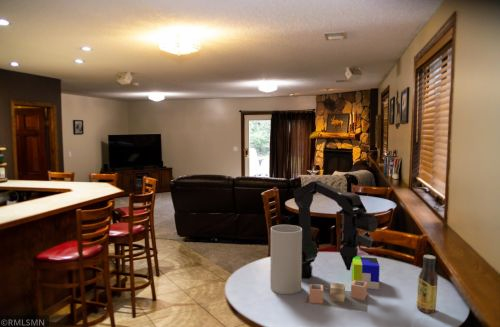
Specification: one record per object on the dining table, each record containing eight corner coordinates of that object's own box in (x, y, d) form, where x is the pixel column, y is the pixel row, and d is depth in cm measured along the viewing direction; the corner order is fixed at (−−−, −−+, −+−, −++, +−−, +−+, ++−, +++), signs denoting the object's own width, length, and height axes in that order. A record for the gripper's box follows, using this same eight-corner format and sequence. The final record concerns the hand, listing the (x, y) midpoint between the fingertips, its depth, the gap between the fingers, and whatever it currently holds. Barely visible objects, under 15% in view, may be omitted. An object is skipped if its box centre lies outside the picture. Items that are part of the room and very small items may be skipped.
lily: (370, 268, 181) (372, 248, 184) (350, 261, 177) (353, 241, 181) (353, 268, 192) (356, 249, 195) (335, 261, 188) (338, 242, 191)
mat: (305, 303, 141) (305, 302, 141) (312, 287, 156) (312, 286, 156) (366, 313, 133) (366, 311, 133) (368, 294, 148) (368, 293, 148)
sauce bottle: (413, 306, 139) (415, 253, 137) (429, 305, 139) (431, 252, 138) (422, 314, 132) (425, 259, 131) (440, 314, 133) (442, 258, 131)
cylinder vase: (303, 285, 158) (304, 226, 156) (297, 297, 146) (298, 233, 144) (275, 281, 162) (275, 223, 160) (266, 292, 150) (266, 231, 148)
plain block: (330, 300, 143) (330, 287, 142) (331, 295, 147) (332, 282, 147) (343, 302, 141) (343, 289, 141) (344, 296, 146) (345, 284, 145)
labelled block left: (309, 302, 141) (309, 288, 140) (309, 296, 146) (309, 283, 145) (322, 303, 140) (323, 289, 140) (322, 297, 145) (322, 284, 145)
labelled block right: (350, 297, 145) (351, 284, 145) (353, 292, 150) (354, 279, 149) (364, 300, 143) (364, 286, 143) (366, 295, 147) (367, 282, 147)
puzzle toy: (378, 290, 153) (379, 266, 152) (353, 288, 155) (353, 264, 154) (375, 280, 163) (376, 258, 162) (351, 278, 165) (352, 256, 164)
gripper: (372, 234, 135) (371, 277, 136) (371, 222, 153) (370, 260, 154) (340, 232, 138) (339, 273, 140) (343, 220, 156) (342, 257, 157)
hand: (349, 266), depth 148 cm, fingers open, 9 cm apart
